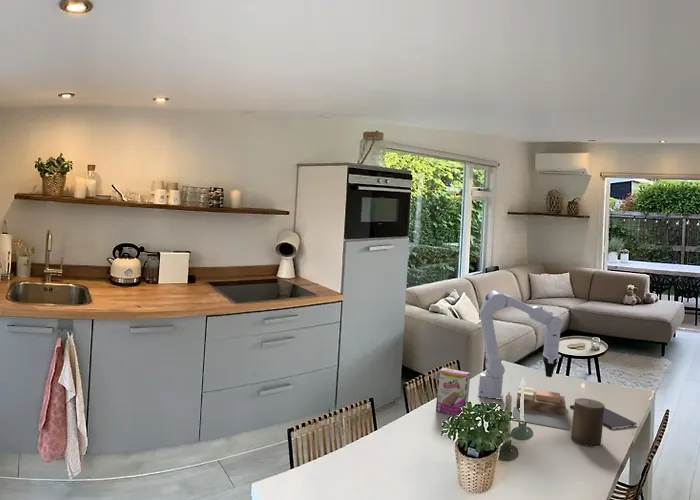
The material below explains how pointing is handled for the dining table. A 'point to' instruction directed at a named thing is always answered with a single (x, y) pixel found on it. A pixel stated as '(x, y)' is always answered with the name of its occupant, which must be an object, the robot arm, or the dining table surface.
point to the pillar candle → (587, 422)
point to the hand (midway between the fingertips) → (548, 375)
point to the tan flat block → (544, 405)
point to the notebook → (614, 420)
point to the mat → (542, 418)
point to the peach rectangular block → (548, 396)
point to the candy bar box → (452, 390)
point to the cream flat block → (526, 393)
